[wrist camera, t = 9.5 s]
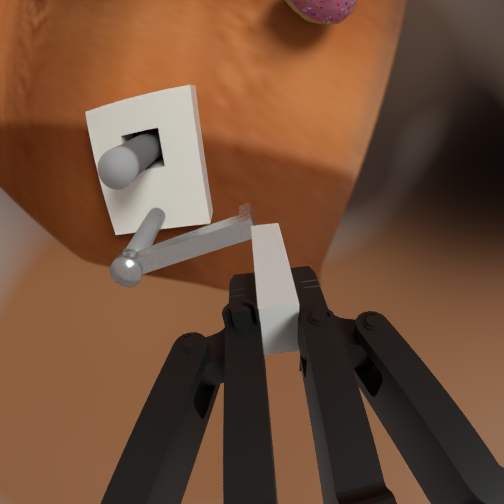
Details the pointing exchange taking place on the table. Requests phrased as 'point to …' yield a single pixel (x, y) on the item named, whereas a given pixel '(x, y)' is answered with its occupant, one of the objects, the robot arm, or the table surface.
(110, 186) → the plug
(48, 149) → the table surface
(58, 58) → the table surface
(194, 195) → the socket block
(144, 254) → the clip
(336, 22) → the cupcake
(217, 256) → the table surface
